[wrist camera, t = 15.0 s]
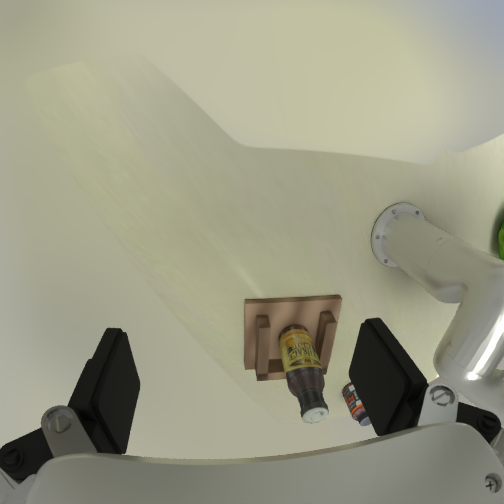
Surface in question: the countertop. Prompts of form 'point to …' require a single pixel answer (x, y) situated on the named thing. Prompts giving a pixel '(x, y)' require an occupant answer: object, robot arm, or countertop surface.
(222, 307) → the countertop surface
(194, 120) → the countertop surface
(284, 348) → the sauce bottle
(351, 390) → the supplement bottle
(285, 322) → the bottle stand
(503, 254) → the lettuce
